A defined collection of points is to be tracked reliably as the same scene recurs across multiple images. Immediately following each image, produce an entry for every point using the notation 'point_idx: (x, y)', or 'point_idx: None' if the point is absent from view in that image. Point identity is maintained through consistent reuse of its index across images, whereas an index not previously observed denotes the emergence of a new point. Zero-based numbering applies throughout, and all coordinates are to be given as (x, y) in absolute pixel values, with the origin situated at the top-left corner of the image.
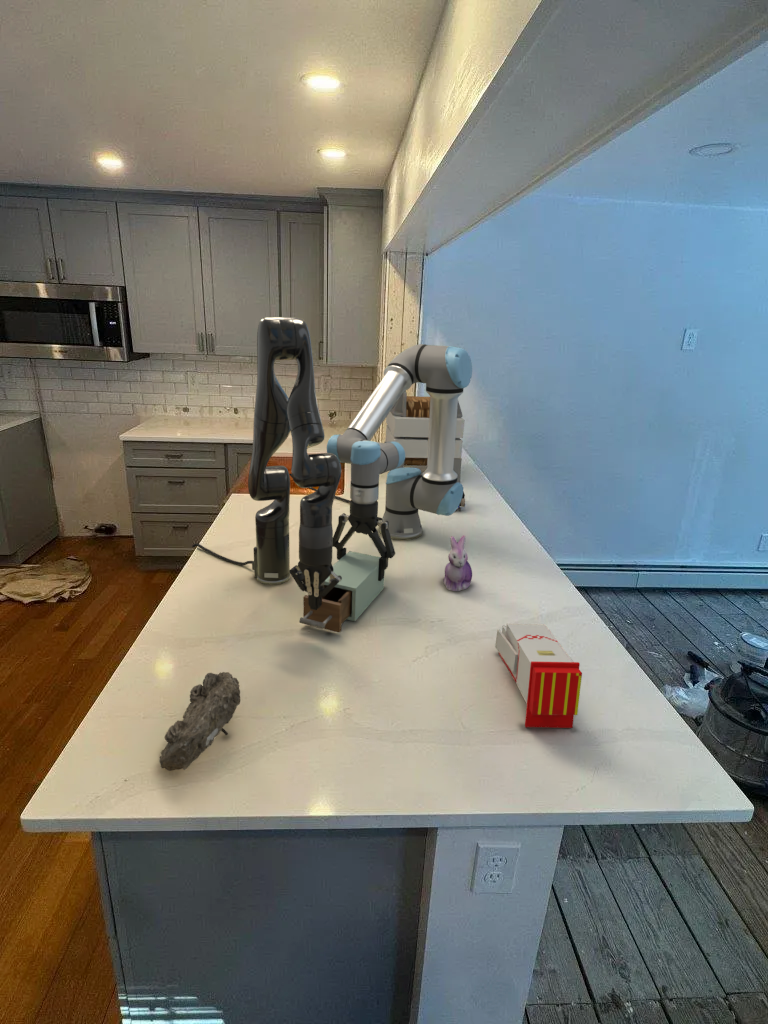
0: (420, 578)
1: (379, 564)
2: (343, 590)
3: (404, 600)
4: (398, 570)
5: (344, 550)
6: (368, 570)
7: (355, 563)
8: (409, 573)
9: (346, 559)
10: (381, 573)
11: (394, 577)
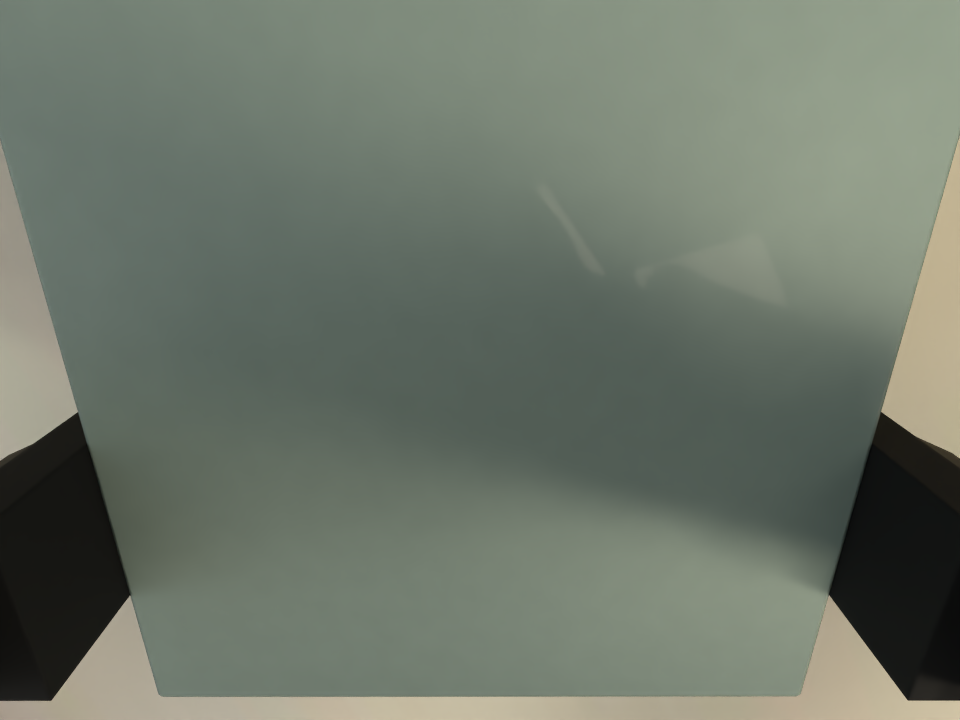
0: (145, 672)
1: (61, 451)
2: None
3: (33, 307)
4: (349, 712)
5: (915, 609)
6: (86, 94)
7: (518, 303)
8: (256, 704)
9: (760, 394)
10: None
11: None
